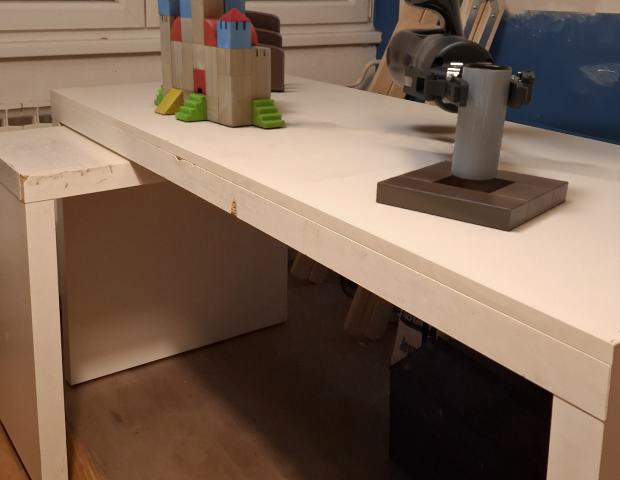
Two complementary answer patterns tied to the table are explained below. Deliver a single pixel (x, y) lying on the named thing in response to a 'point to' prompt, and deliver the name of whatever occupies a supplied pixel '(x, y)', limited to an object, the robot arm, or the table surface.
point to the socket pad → (473, 195)
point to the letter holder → (270, 44)
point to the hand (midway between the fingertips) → (491, 96)
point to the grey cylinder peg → (481, 122)
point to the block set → (214, 65)
